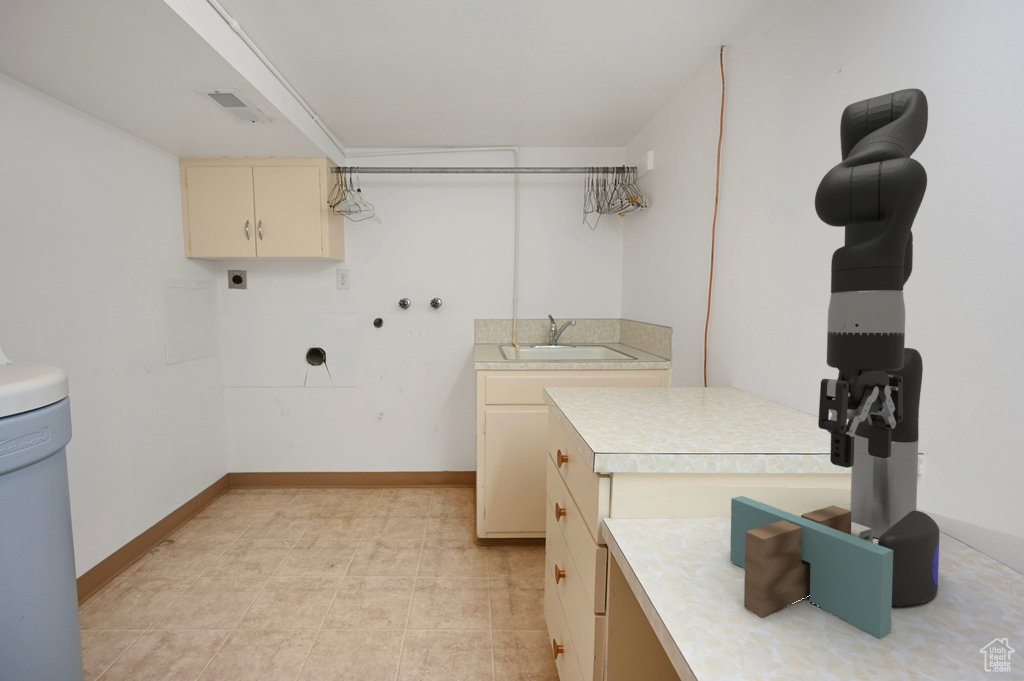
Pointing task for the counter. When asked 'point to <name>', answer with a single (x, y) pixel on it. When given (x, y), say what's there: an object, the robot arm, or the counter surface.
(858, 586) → the teal plate
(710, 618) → the counter surface
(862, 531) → the usb wall charger
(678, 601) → the counter surface
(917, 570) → the black rounded block
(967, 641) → the counter surface
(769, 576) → the brown flat u-shaped block
